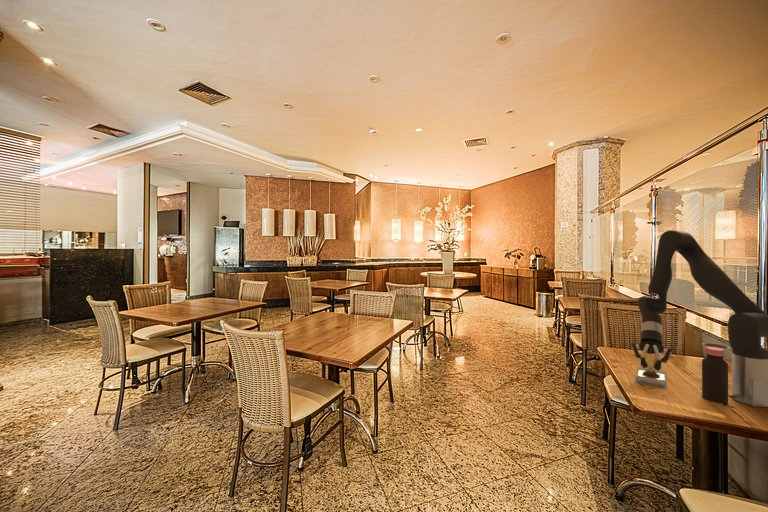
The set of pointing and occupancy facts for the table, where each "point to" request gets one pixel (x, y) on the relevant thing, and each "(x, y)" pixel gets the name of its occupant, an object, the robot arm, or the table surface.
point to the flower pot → (717, 347)
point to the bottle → (715, 376)
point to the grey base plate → (652, 384)
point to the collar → (651, 379)
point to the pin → (651, 364)
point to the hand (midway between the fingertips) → (650, 368)
